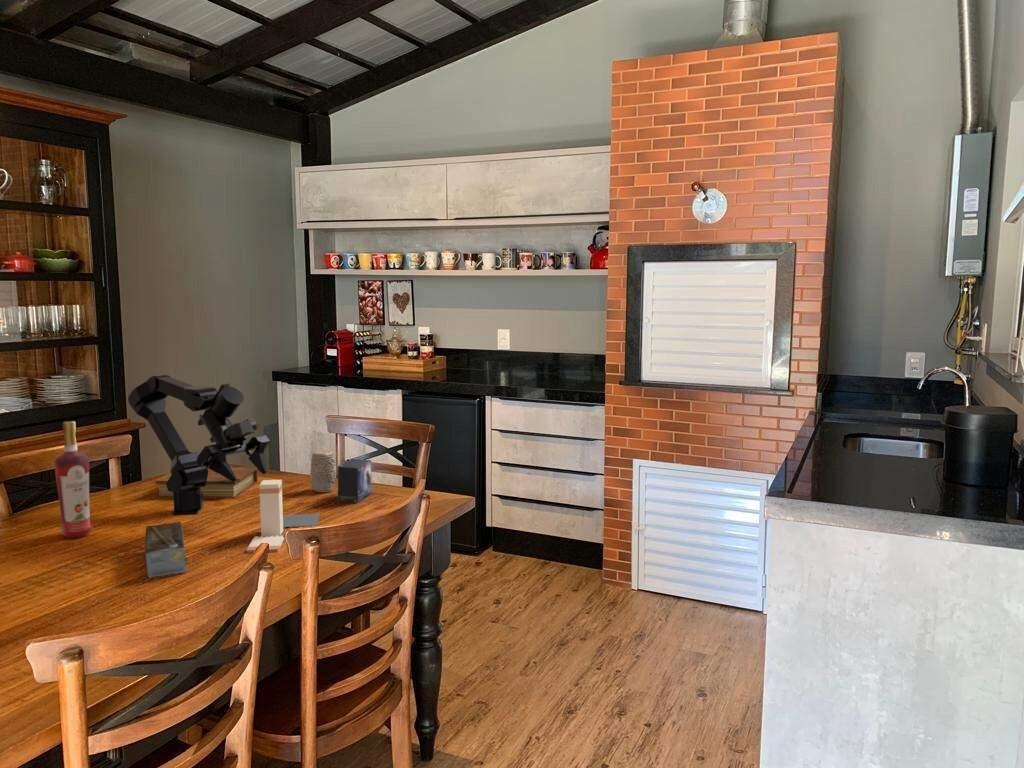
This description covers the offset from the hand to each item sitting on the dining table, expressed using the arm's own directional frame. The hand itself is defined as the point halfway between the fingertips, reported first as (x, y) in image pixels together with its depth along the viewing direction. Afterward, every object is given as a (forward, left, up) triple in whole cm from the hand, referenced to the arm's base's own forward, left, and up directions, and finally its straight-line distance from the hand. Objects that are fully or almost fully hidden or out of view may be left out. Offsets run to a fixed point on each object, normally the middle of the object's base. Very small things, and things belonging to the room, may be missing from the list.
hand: (250, 477), depth 191 cm
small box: (+24, +25, -13) cm, 37 cm away
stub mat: (+11, +4, -13) cm, 17 cm away
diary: (-20, +39, -14) cm, 46 cm away
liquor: (-41, -1, -13) cm, 43 cm away
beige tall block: (+6, -5, -13) cm, 15 cm away
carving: (+14, +34, -13) cm, 39 cm away
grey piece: (-14, -22, -14) cm, 30 cm away
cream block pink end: (+6, -14, -13) cm, 20 cm away
